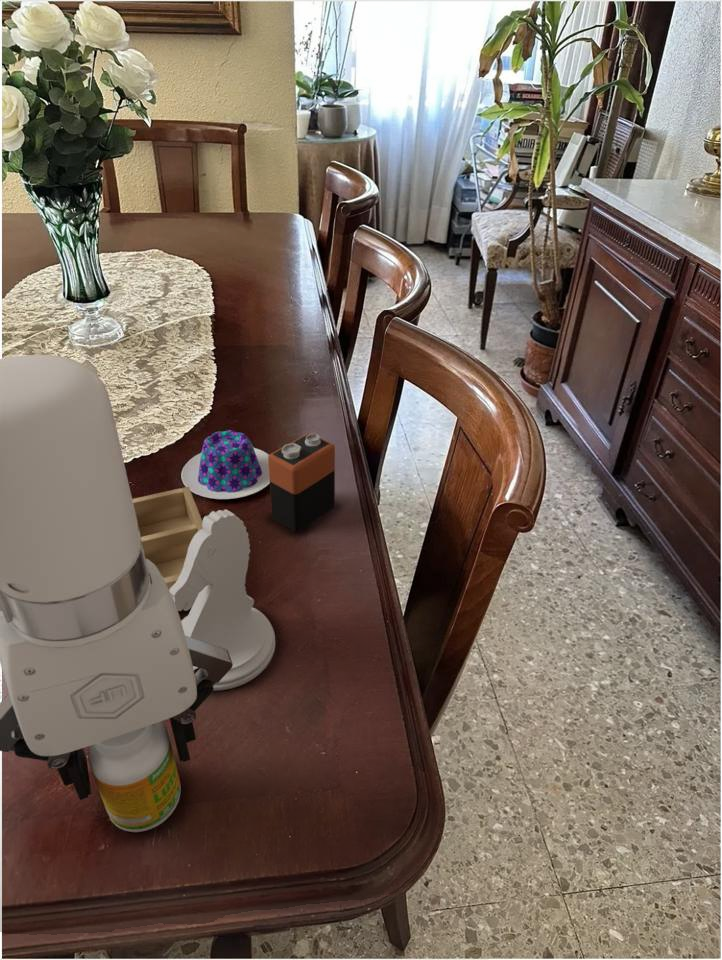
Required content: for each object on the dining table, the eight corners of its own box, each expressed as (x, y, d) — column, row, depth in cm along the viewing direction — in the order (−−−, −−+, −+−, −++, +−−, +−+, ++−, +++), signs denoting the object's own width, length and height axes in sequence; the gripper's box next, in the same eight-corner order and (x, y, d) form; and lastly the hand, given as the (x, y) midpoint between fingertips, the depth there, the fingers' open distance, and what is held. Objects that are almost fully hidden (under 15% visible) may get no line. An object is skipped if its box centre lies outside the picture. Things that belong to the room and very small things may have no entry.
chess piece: (146, 651, 61) (115, 526, 52) (227, 593, 67) (211, 473, 59) (216, 710, 56) (195, 583, 48) (297, 642, 62) (291, 518, 54)
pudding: (171, 463, 87) (165, 428, 84) (258, 442, 91) (255, 409, 88) (197, 514, 78) (191, 478, 75) (291, 488, 83) (290, 453, 80)
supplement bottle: (171, 835, 48) (149, 758, 42) (97, 833, 48) (65, 756, 42) (188, 766, 52) (171, 688, 46) (120, 764, 52) (94, 686, 46)
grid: (70, 642, 62) (59, 611, 60) (58, 546, 73) (49, 517, 70) (225, 597, 67) (221, 568, 65) (193, 514, 78) (188, 486, 76)
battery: (270, 519, 77) (265, 447, 72) (310, 493, 82) (308, 423, 76) (297, 535, 75) (294, 462, 69) (336, 508, 80) (336, 437, 74)
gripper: (-112, 679, 31) (0, 863, 41) (246, 579, 37) (266, 762, 47) (-96, 576, 36) (0, 761, 47) (214, 503, 42) (237, 682, 53)
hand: (133, 760), depth 47 cm, fingers open, 6 cm apart
